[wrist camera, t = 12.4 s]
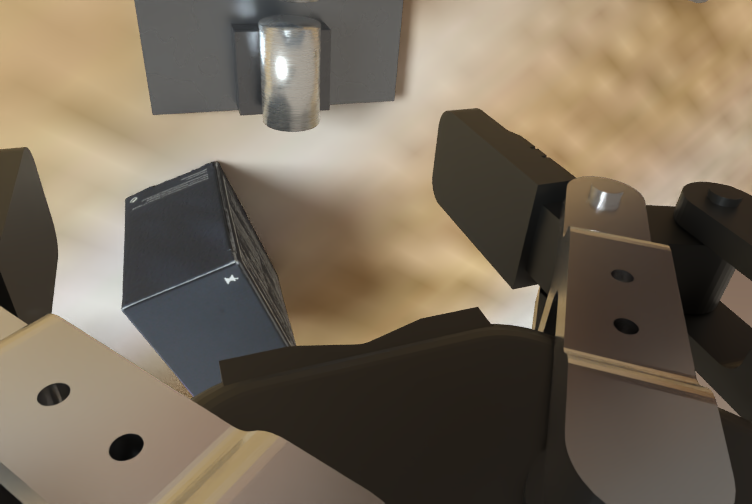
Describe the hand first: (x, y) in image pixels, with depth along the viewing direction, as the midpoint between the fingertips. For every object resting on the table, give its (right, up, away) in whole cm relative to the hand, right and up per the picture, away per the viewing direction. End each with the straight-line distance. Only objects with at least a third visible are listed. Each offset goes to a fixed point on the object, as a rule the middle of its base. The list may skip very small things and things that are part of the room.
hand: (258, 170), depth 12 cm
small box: (-9, -1, +27) cm, 29 cm away
